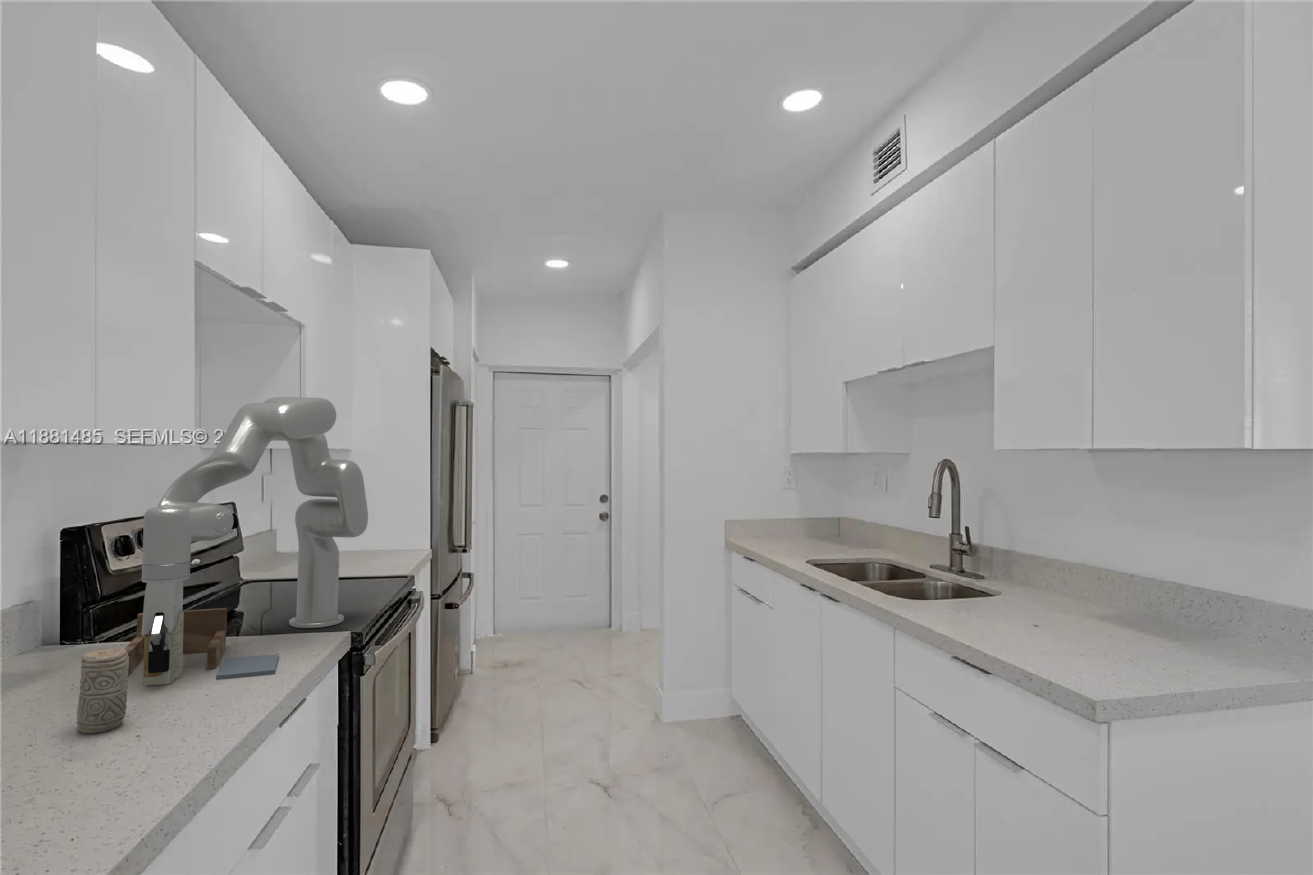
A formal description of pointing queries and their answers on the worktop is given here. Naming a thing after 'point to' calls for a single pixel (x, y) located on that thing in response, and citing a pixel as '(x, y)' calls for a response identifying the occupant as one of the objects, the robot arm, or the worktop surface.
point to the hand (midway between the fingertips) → (163, 665)
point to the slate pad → (247, 666)
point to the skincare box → (175, 656)
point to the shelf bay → (190, 636)
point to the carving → (103, 690)
